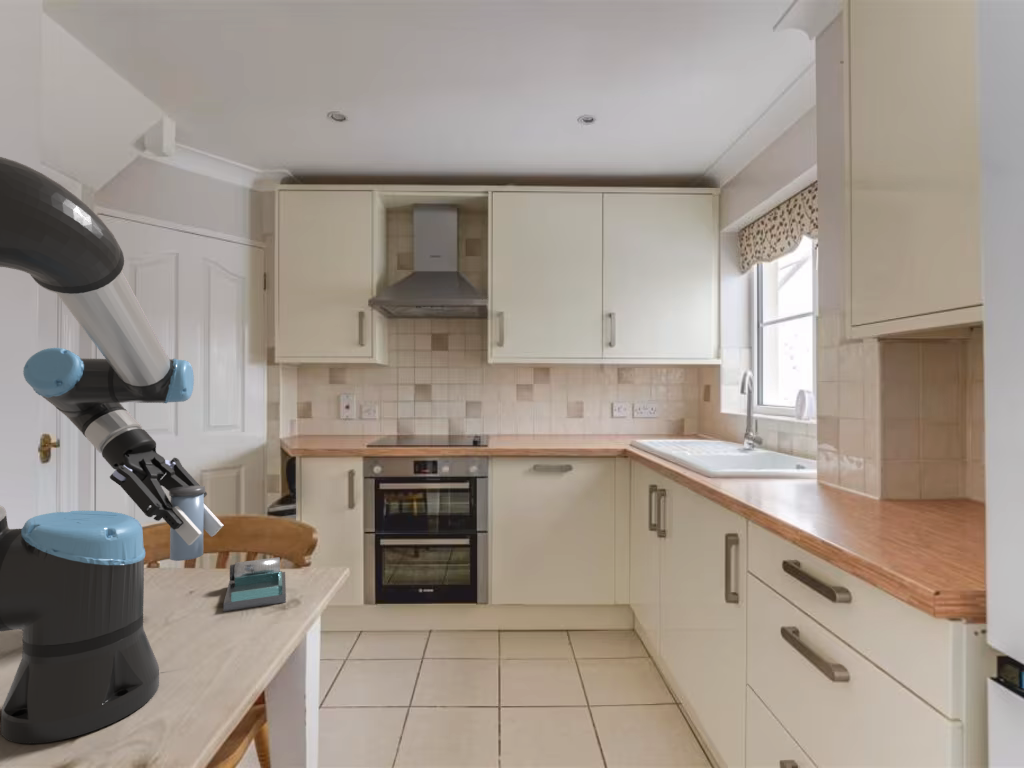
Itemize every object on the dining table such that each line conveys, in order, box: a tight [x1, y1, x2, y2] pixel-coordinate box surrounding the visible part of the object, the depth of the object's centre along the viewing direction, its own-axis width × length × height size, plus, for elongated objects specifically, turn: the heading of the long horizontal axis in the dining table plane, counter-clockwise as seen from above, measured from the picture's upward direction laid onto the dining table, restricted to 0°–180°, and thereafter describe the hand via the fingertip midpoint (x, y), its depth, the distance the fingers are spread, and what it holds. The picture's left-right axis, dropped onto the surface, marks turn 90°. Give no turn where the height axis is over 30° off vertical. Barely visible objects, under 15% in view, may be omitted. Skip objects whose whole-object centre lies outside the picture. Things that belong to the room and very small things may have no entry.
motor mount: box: [223, 557, 287, 612], centre depth 100 cm, size 13×10×5 cm
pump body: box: [168, 485, 206, 562], centre depth 93 cm, size 5×5×12 cm
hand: (206, 534), depth 92 cm, fingers closed on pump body, 5 cm apart
